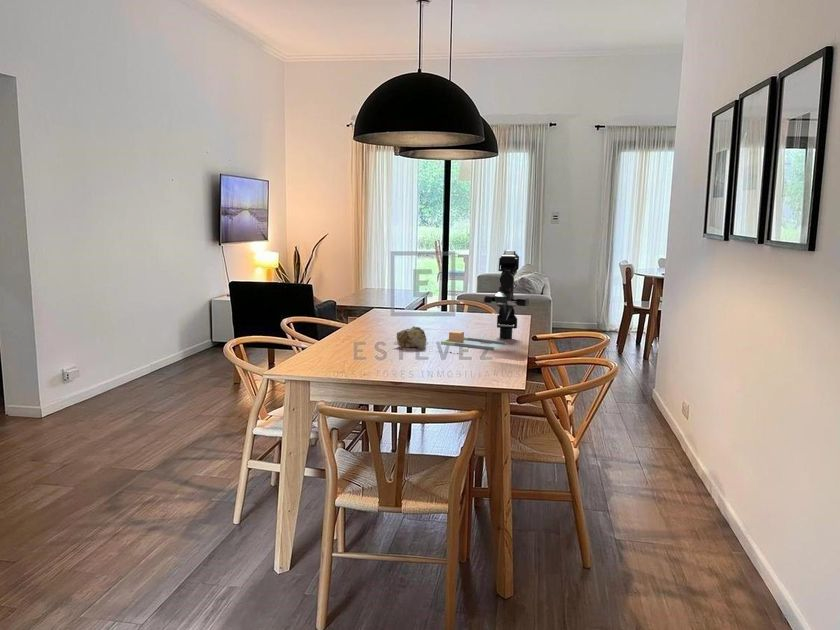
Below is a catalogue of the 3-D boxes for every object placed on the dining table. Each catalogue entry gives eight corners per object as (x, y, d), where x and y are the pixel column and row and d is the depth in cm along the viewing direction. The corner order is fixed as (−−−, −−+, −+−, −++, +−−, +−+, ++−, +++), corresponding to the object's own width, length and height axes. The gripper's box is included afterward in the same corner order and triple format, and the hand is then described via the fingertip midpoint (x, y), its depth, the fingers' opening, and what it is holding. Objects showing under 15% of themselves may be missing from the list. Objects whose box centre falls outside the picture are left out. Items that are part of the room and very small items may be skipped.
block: (453, 340, 277) (453, 330, 276) (463, 341, 275) (464, 331, 274) (448, 342, 272) (449, 332, 272) (459, 343, 270) (459, 333, 270)
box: (454, 341, 283) (454, 335, 282) (505, 347, 272) (505, 341, 272) (440, 347, 270) (440, 341, 269) (493, 353, 259) (493, 347, 259)
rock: (430, 343, 270) (423, 322, 268) (427, 348, 264) (420, 326, 262) (405, 350, 274) (397, 329, 272) (401, 355, 268) (393, 333, 266)
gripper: (479, 284, 265) (478, 320, 268) (521, 287, 257) (520, 325, 259) (489, 282, 275) (488, 317, 277) (530, 285, 266) (528, 321, 269)
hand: (505, 320), depth 270 cm, fingers closed
